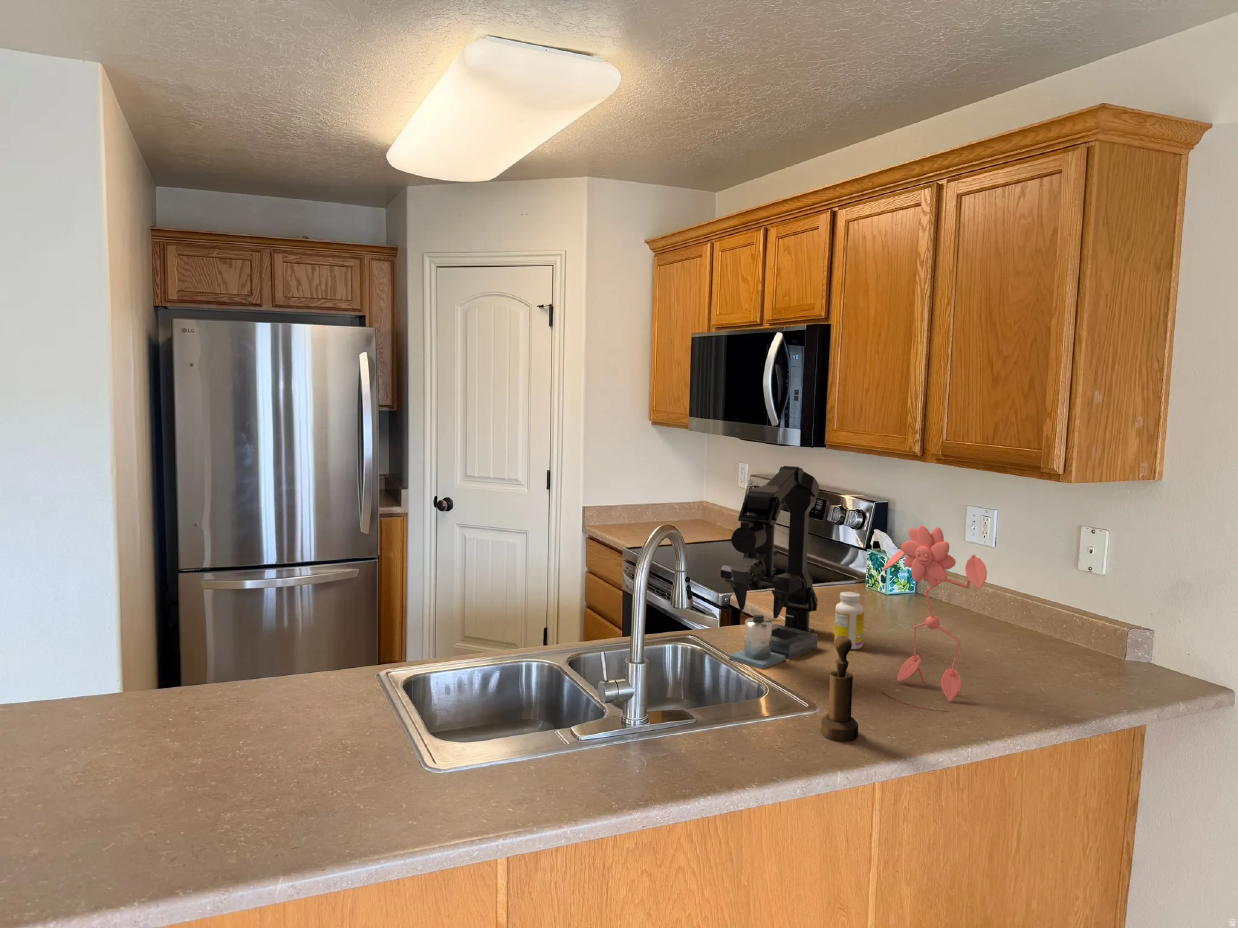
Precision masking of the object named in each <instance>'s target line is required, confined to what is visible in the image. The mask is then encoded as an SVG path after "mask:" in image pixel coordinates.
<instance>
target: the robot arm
mask: <svg viewBox="0 0 1238 928" xmlns="http://www.w3.org/2000/svg"><path fill="white" fill-rule="evenodd" d="M819 492H820V485H819V482H818V480H817V479H816V478H815V477H814V476H813V475H811V474H809V473H807V472H806V471H804V469H803V468H802V467H800V466H796V465H795V466H794V465H793V466H792V465H783V466H780V468H779V470H778V472H777V473H776V474H775V475H774V476H773V477H772V478H771V479H770V480H769V481H768V482H767V483H766V484H765V485H762V486H757V487H753V488H752V489H750V490H749V491H748V492H747V494H746V495H745V496H744V499H743V502H742V505H741V509H740V512H739V515H738V519H737V520H738V522H740V526H739V527H737V528H736V529H735V530H733V532H732V534H731V544H732V546H733V548H734V549H735V550H736V551H737V552H739V553H741V554H743V558H741V560H738V561H737V562H732V563H728V564H723V565H722V566H721V567H720V569H719V578H722V579H724V580H723V581H724V582H726V583H727V584H728V585H730V586H731V589H732V590H733V592H734V595H735V599H736V603H737V605H738V607H739V611H744V610H745V606H746V602H747V594H748V586H749V585H751V584H752V583H753V582H754V581H759V582H764V583H769V584H771V585H772V587H773V589H771V590H770V591H771V593H772V596H773V607H772V608H773V609H772V611H773V615H772V616H773V619H775V620H776V619H779V616H780V613H781V612H782V610H783V608H785V615H784V616H785V617H784V626H787V627H791V628H795V629H798V630H802V631H806V632H810V633H814V632H815V629H814V628H810V613H811V612H817V610H818V601H819V600H818V596H817V594H816V592H815V589H814V587H813V579H812V576H811V574H810V573H809V571H808V569H807V567H808V566H807V565H808V564H807V563H808V543H809V540H808V539H809V524H810V523H809V522H810V519H809V517H810V512H811V510H812V509H813V507H814V506H815V504H816V502H817V499H818V498H817V497H818V496H819ZM782 500H783V501H784V504H785V506H786V507H787V510H788V511H789V525H788V526H789V527H788V528H789V529H788V545H787V547H788V548H787V549H788V550H787V551H788V552H787V566H786V567H787V569H786V570H785V572H783V573H781V574H777V575H776V573H777V568H776V567H774V556H777V555H778V550H775V525H777V521H778V518H779V516H780V513H781V510H782V507H783V503H782ZM774 574H775V575H774Z"/></svg>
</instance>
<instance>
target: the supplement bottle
mask: <svg viewBox="0 0 1238 928" xmlns="http://www.w3.org/2000/svg"><path fill="white" fill-rule="evenodd" d="M839 599H840V602H838V603H837V604H836V605H835V611H834V612H835V613H834V614H835V615H834V634H833V635H834V639H833V640H834V643H835V640H836V638H837V637H839V636H845V637H848V638H849V639H850V640H851V642H852V647H851V650H859V649H861V648H863V645H864V643H863V642H864V621H865V619H864V618H865V608H864V606H863V605H862V604H861V603H860V601H861V594H860V593H858V592H854V591H843V592H842V591H841V592H840V593H839Z"/></svg>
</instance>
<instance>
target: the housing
mask: <svg viewBox="0 0 1238 928" xmlns="http://www.w3.org/2000/svg"><path fill="white" fill-rule="evenodd" d="M818 636H819V634H818V633H814V632H811V633H810V632H806V631H802V630H798V629H795V628H791V627H787V626H785V625H782V624H778V623H774V624H773V623H772V632H771V652H773V653H776V654H780V655H783V656H785V660H792V659H794V658H797V657H801V656H802V655H804V654H807V653H809V652H812V651H815V650H817V649H818Z"/></svg>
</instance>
